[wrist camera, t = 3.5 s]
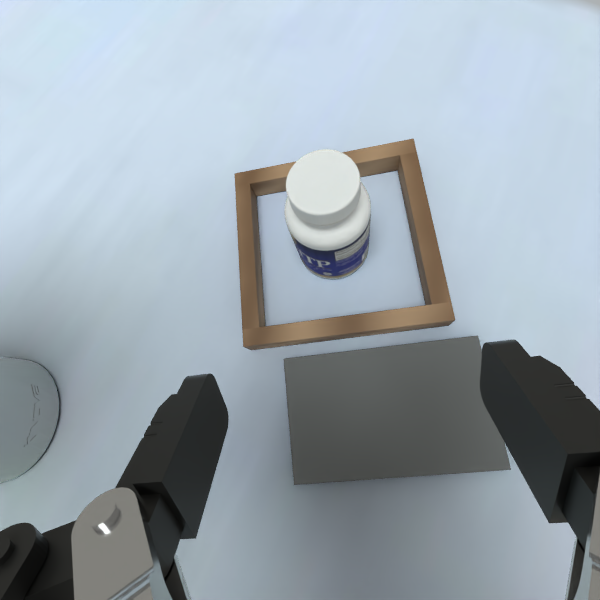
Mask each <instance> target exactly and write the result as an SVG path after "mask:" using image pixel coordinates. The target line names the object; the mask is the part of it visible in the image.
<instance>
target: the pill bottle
mask: <svg viewBox="0 0 600 600" xmlns="http://www.w3.org/2000/svg"><path fill="white" fill-rule="evenodd" d="M286 192H287V195H288V197H287V199H286V203H285V220H286V223H287V226H288V229H289V231H290V234H291V236H292V239H293V241H294V244H295V246H296V248H297V250H298V252H299V255H300V257H301V259H302V261H303V263H304V265H305V266H306V268H307V269H308V270H309V271H311V272H312V273H313V274H315V275H317V276H319V277H322V278H326V279H339V278H343V277H346V276H348V275H350V274H352V273H354V272H355V271H356V270H357V269H359V267H360V266H361V265H362V264H363V262H364V261H365V259H366V256H367V253H368V247H369V232H370V218H371V203H370V198H369V195H368V193H367V190H366V189H365V187H364V185H363V184H362V183H361V182H360V173H359V170H358V168H357V166H356V164H355V163H354V162H353V160H352V159H351V158H350V157H348V156H347V155H345V154H344V153H341V152H339V151H335V150H328V149H325V150H317V151H313V152H311V153H308V154H306V155H305V156H303V157H302V158H300V159H299V160H298V161H297V162H296V163H295V164H294V165H293V166H292V168H291V169H290V171H289V173H288V176H287V180H286Z"/></svg>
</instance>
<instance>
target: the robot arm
mask: <svg viewBox="0 0 600 600" xmlns="http://www.w3.org/2000/svg"><path fill="white" fill-rule="evenodd" d="M480 392H481V397H482V400H483V403H484V405H485V407H486V409H487V411H488V413H489V414H490V416H491V418H492V420H493V422H494V424H495V425H496V427H497V429H498V431H499V433H500V434H501V436H502V438H503V440H504V442H505V444H506V445H507V447H508V449H509V451H510V453H511V454H512V456H513V458H514V460H515V462H516V464H517V465H518V467H519V469H520V471H521V473H522V475H523V476H524V478H525V480H526V482H527V484H528V485H529V487H530V489H531V491H532V493H533V495H534V496H535V498H536V500H537V502H538V504H539V505H540V507H541V509H542V511H543V513H544V515H545V516H546V518H547V520H548V522H549V523H563V522H568V523H569V525H570V526H571V528H572V530H573V531H574V533H575V535H576V539H575V542H574V548H573V554H572V560H571V566H570V572H569V578H568V584H567V589H566V595H565V600H600V411H599V409H598V408H597V407H596V406H595V405H594V404H593V403H592V402H591V401H590V400H589V399H586V395H585V394H584V393H583V392H582V391H581V390H580V389H579V388H578V387H577V386H575V385H574V382H573V381H572V380H571V379H570V378H569V377H568V376H567V375H566V374H565V372H564V371H563V370H562V369H561V368H560V367H558V366H556V365H555V364H553V363H551V362H550V361H548V360H546V359H545V358H543V357H541V356H534V357H530V356H529V354H528V353H527V352H526V351H525V350H524V349H523V347H522V346H521V345H520V344H519V343H518V342H517V341H516V340H506V341H497V342H488V343H484V345H483V348H482V359H481V373H480ZM58 415H59V397H58V392H57V388H56V385H55V383H54V381H53V378H52V377H51V375H50V374H49V373H48V372H47V370H46V369H45V368H43V367H42V366H41V365H39V364H38V363H35V362H33V361H30V360H24V359H15V358H7V357H0V483H3V482H6V481H9V480H12V479H15V478H17V477H18V476H20V475H22V474H23V473H25V472H26V471H27V470H29V469H30V468H31V467H32V466H33V465H34V464H35V463H36V462H37V461H38V460H39V458H40V457H41V456H42V455H43V453H44V452H45V450H46V449H47V447H48V445H49V443H50V441H51V440H52V437H53V434H54V431H55V429H56V426H57V420H58ZM227 429H228V411H227V408H226V405H225V402H224V400H223V397H222V395H221V392H220V390H219V387H218V385H217V382H216V380H215V377H214V376H213V375H212V374H203V375H194V376H187V377H186V378H185V379H184V381H183V383H182V385H181V387H180V389H179V391H178V393H177V394H174V395H171V396H170V397H169V398H168V399H167V400H166V401H165V402H164V403H163V404H162V405H161V406H160V407H159V408H158V410H157V412H156V414H155V415H154V417H153V419H152V421H151V425H150V426H149V427H148V428H147V430H146V432H145V434H144V438H142V440H141V441H140V443H139V445H138V447H137V449H136V451H135V453H134V454H133V456H132V458H131V460H130V462H129V464H128V466H127V467H126V469H125V471H124V473H123V475H122V477H121V479H120V480H119V482H118V484H117V486H116V488H115V489H112V490H109V491H107V492H105V493H103V494H101V495H100V496H98V497H97V498H95V499H94V500H93V501H92V502H91V503H90V504H89V505H88V506H87V507H86V508H85V509H84V510H83V511H82V513H81V514H80V515H79V517H78V519H77V520H76V521H73V522H71V523H68V524H66V525H63V526H60V527H58V528H55V529H53V530H50V531H47V532H45V533H42V534H41V533H40V532H39V531H38V530H37V529H36V528H35V527H34V526H33V525H31V524H29V523H19V524H15V525H12V526H10V527H8V528H6V529H4V530H2V531H1V532H0V600H191V598H190V594H189V591H188V588H187V585H186V582H185V579H184V576H183V572H182V569H181V566H180V563H179V560H178V557H177V555H176V554H175V553H176V550H177V547H178V544H179V541H180V539H193V538H196V536H197V533H198V529H199V526H200V522H201V519H202V515H203V512H204V508H205V505H206V501H207V498H208V495H209V491H210V488H211V484H212V481H213V477H214V474H215V470H216V467H217V463H218V460H219V457H220V453H221V450H222V446H223V443H224V439H225V436H226V432H227Z"/></svg>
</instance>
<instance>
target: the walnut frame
mask: <svg viewBox="0 0 600 600" xmlns="http://www.w3.org/2000/svg"><path fill="white" fill-rule="evenodd" d="M343 153H344V154H345V155H347V156H348V157H350V158H351V159H352V160H353V162H354V163H355V164H356V166H357V168H358V170H359V173H360V177H363V176H369V175H374V174H380V173H385V172H390V171H396V170H398V175H399V179H400V184H401V189H402V194H403V199H404V203H405V208H406V213H407V218H408V223H409V227H410V232H411V237H412V242H413V247H414V251H415V256H416V261H417V266H418V271H419V275H420V280H421V285H422V290H423V295H424V299H425V304H426V305H424V306H416V307H409V308H401V309H394V310H386V311H379V312H371V313H364V314H356V315H349V316H341V317H334V318H326V319H319V320H311V321H303V322H296V323H288V324H281V325H273V326H266V327H265V312H264V298H263V284H262V269H261V255H260V240H259V226H258V212H257V197H256V196H261V195H266V194H271V193H277V192H282V191H286V180H287V176H288V173H289V171H290V169H291V168H292V166H293V165H294V164H295V163H296V162H292V163H286V164H281V165H276V166H271V167H266V168H261V169H256V170H251V171H245V172H240V173H235V190H236V210H237V230H238V250H239V270H240V290H241V310H242V330H243V347H245V348H248V349H250V350H256V349H264V348H272V347H280V346H288V345H296V344H304V343H312V342H320V341H328V340H336V339H345V338H353V337H361V336H369V335H377V334H385V333H393V332H401V331H409V330H417V329H425V328H433V327H441V326H449V325H450V324H451V323H452V322H453V321H455V317H454V312H453V308H452V304H451V299H450V295H449V290H448V286H447V282H446V277H445V273H444V269H443V264H442V260H441V256H440V251H439V247H438V243H437V238H436V234H435V230H434V225H433V221H432V217H431V212H430V208H429V204H428V199H427V195H426V191H425V186H424V182H423V178H422V173H421V169H420V165H419V160H418V156H417V152H416V147H415V143H414V139H409V140H404V141H399V142H394V143H389V144H384V145H378V146H373V147H368V148H363V149H358V150H353V151H348V152H343Z"/></svg>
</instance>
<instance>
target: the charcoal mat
mask: <svg viewBox="0 0 600 600" xmlns="http://www.w3.org/2000/svg"><path fill="white" fill-rule="evenodd" d="M481 359H482V350H481V346H480V342H479V338H478V336H471V337H463V338H455V339H446V340H438V341H429V342H421V343H413V344H404V345H396V346H388V347H379V348H371V349H362V350H354V351H346V352H337V353H329V354H320V355H312V356H304V357H295V358H287V359H284V369H285V381H286V393H287V405H288V417H289V429H290V441H291V453H292V465H293V477H294V485H298V484H312V483H326V482H341V481H355V480H369V479H384V478H398V477H413V476H427V475H441V474H456V473H470V472H484V471H499V470H511V468H510V464H509V460H508V456H507V452H506V448H505V444H504V440H503V438H502V436H501V434H500V433H499V431H498V429H497V427H496V425H495V424H494V422H493V420H492V418H491V416H490V414H489V413H488V411H487V409H486V407H485V405H484V403H483V400H482V397H481V392H480V373H481Z"/></svg>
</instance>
